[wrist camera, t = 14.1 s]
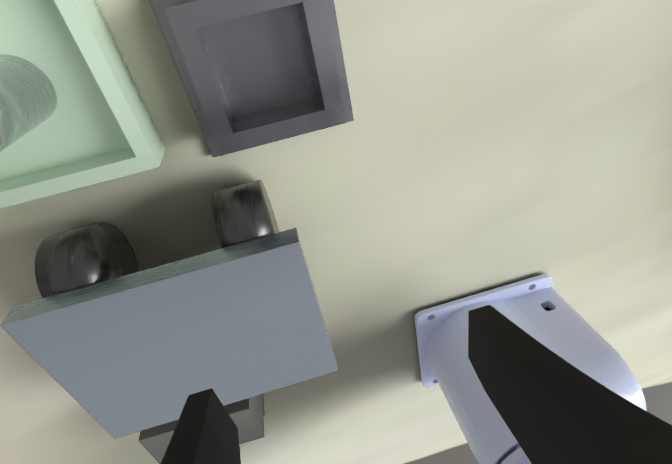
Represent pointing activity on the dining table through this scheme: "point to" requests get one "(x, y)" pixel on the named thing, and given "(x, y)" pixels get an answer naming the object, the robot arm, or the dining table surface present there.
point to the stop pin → (22, 98)
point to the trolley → (175, 317)
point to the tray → (74, 103)
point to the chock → (241, 412)
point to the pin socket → (257, 67)
